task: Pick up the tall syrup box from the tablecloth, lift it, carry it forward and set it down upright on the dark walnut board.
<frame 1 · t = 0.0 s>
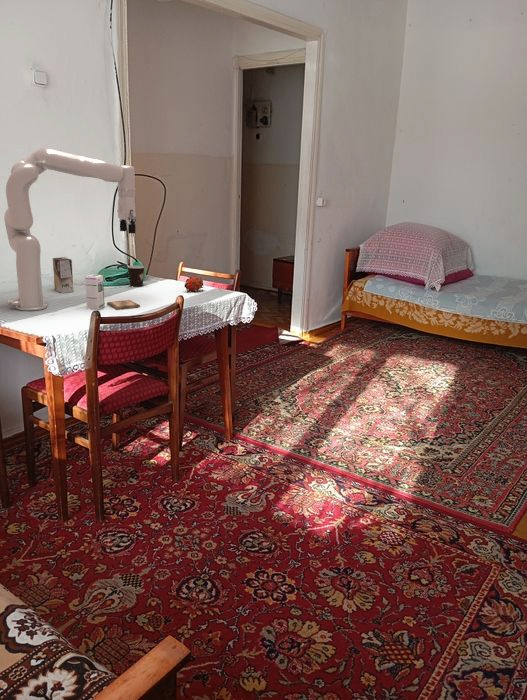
hand: (127, 232, 264), 31 cm above the table, tool pointing down, fingers open, 9 cm apart
coffee mug: (133, 286, 302), on the table
syrup box: (95, 308, 252), on the table
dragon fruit: (193, 291, 295), on the table
walnut board: (123, 306, 257), on the table
coffee box: (64, 291, 283), on the table
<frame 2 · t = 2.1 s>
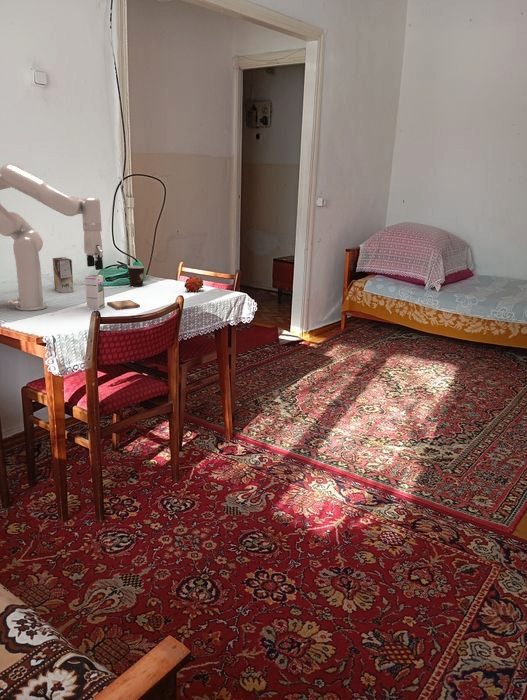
hand: (95, 267, 247), 18 cm above the table, tool pointing down, fingers open, 9 cm apart
nothing on the table moved.
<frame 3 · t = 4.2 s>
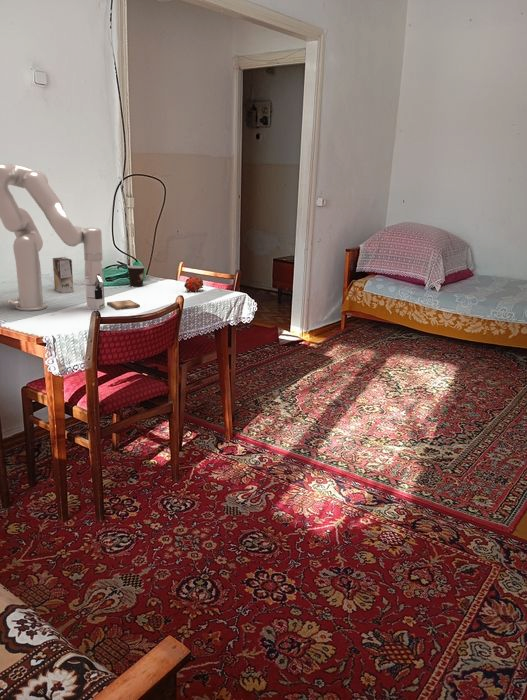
hand: (95, 296, 251), 5 cm above the table, tool pointing down, fingers closed on syrup box, 7 cm apart
syrup box: (95, 308, 252), on the table, touching gripper
everything else where it was.
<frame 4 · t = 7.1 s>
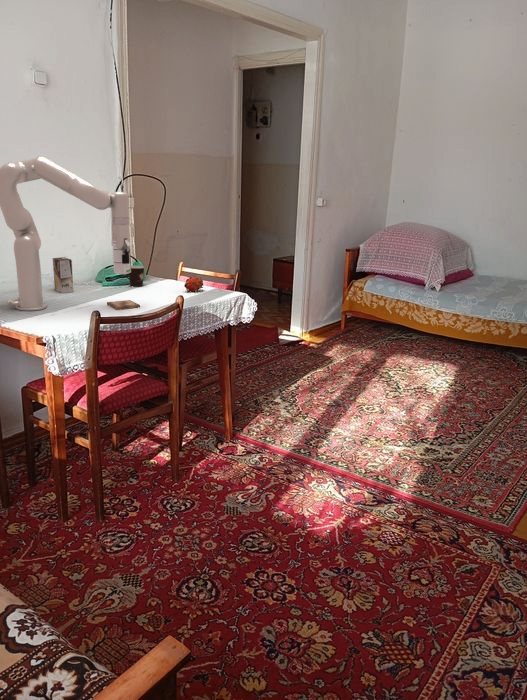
hand: (121, 262, 252), 20 cm above the table, tool pointing down, fingers closed on syrup box, 7 cm apart
syrup box: (122, 273, 253), point 15 cm above the table, touching gripper
everything else where it was.
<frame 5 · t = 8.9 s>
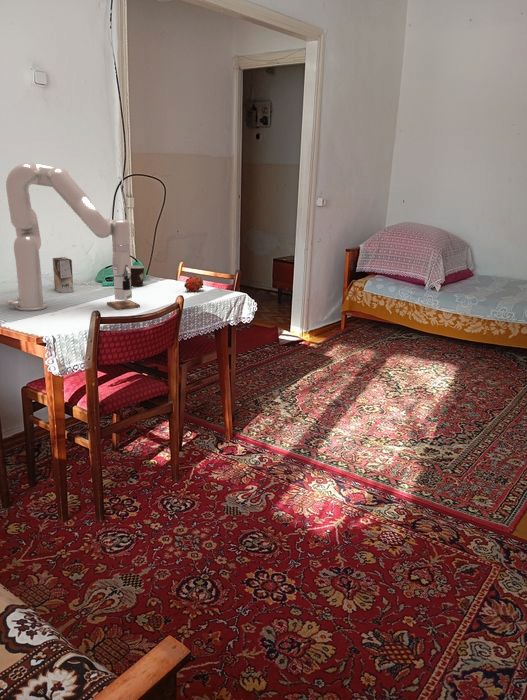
hand: (122, 287, 255), 8 cm above the table, tool pointing down, fingers closed on syrup box, 7 cm apart
syrup box: (123, 299, 256), point 3 cm above the table, touching gripper
everything else where it was.
when the fingers open (7 cm above the table, at t = 10.2 s): syrup box moves 1 cm, resting on walnut board.
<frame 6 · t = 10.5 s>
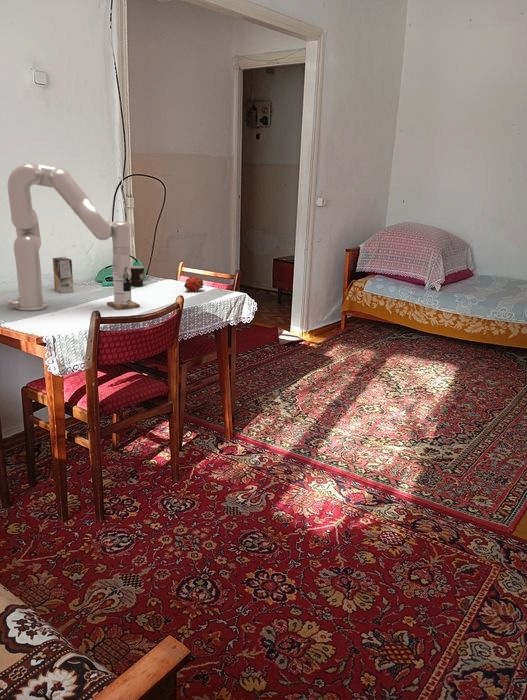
hand: (122, 289, 255), 8 cm above the table, tool pointing down, fingers open, 9 cm apart
syrup box: (122, 303, 257), point 1 cm above the table, touching walnut board
everything else where it was.
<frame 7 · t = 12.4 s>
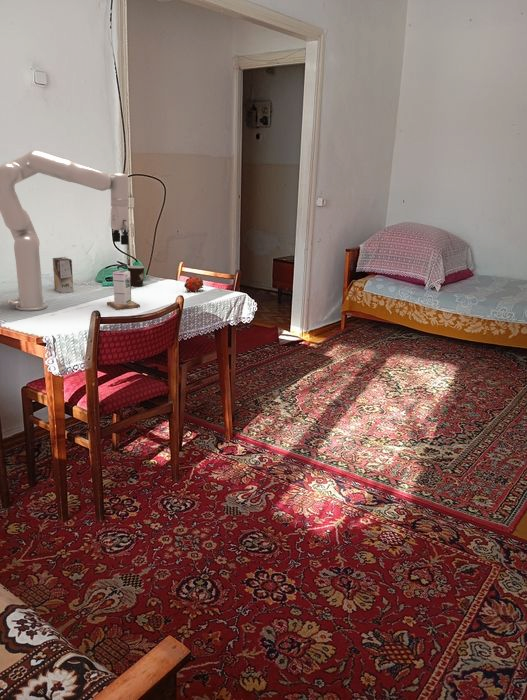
hand: (120, 243, 252), 28 cm above the table, tool pointing down, fingers open, 9 cm apart
nothing on the table moved.
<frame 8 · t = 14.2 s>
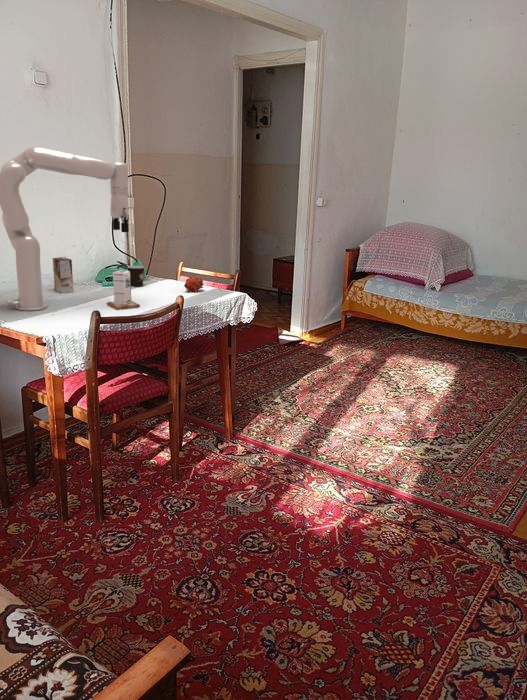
hand: (120, 230, 258), 32 cm above the table, tool pointing down, fingers open, 9 cm apart
nothing on the table moved.
at the end: syrup box inside the target area on the walnut board (0.3 cm from its centre), point 1.1 cm above the walnut board's base; syrup box tilted 0°; the gripper is holding nothing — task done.
